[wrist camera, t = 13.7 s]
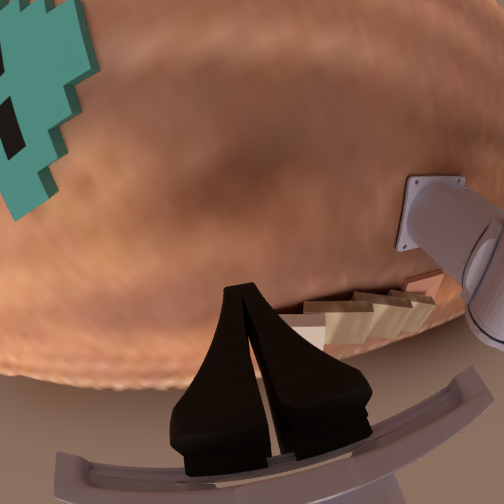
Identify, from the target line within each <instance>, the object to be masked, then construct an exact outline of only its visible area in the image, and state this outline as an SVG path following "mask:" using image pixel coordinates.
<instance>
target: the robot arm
mask: <svg viewBox="0 0 504 504" xmlns="http://www.w3.org/2000/svg"><path fill="white" fill-rule="evenodd" d="M415 181H416V182H415ZM465 182H466V179H465V177H463V176H410V177H409V178H408V180H407V187H406V194H405V201H404V207H403V213H402V219H401V224H400V230H399V235H398V239H397V244H396V250H397V251H399V252H401V251H405V250H410V249H414V248H418V247H420V248H421V249H422V250H423V251H424V252H425V253H426V254H428V255H429V256H430V257H431V258H432V259H433V260H434V261H435V262H436V263H437V264H438V265H439V266H441V267H442V268H443V269H444V270H445V271H446V272H447V273H448V274H449V275H450V276H451V277H452V278H453V279H454V280H455V281H456V282H457V283H458V284H459V285H460V286H461V287H462V288H463V289H462V292H461V294H460V296H461V297H462V299H463V300H464V301H465V302H466V306H465V316H466V319H467V322H468V324H469V326H470V328H471V330H472V331H473V333H474V334H475V335H476V337H478V338H479V339H480V340H481V341H482V342H483V343H485V344H487V345H489V346H492V347H495V348H497V349H499V350H501V351H503V352H504V211H503V210H502V209H501V208H500V207H499V206H497V205H496V204H494V203H492V202H491V201H489V200H488V199H486V198H484V197H483V196H481V195H479V194H478V193H476V192H474V191H472V190H471V189H469V188H467V187H465ZM223 291H224V295H223V303H222V309H221V313H220V318H219V322H218V325H217V328H216V331H215V335H214V338H213V340H212V343H211V345H210V348H209V350H208V353H207V355H206V357H205V359H204V361H203V363H202V365H201V367H200V369H199V371H198V373H197V374H196V376H195V378H194V379H193V381H192V383H191V384H190V386H189V387H188V389H187V391H186V392H185V393H184V395H183V396H182V397H181V399H180V400H179V401H178V403H177V404H176V405H175V407H174V408H173V411H172V416H171V421H170V445H171V447H172V448H174V449H175V450H176V451H177V452H179V453H180V454H181V455H183V456H184V465H185V468H147V467H129V466H118V465H109V464H101V463H94V462H89V461H88V460H86V459H84V458H82V457H80V456H77V455H73V454H68V453H63V452H59V451H58V452H57V453H56V465H55V477H54V498H55V499H58V500H61V501H64V502H67V503H70V504H406V501H405V499H404V496H403V494H402V492H401V489H400V487H399V484H398V482H397V479H396V477H395V475H394V472H396V471H398V470H400V469H402V468H404V467H406V466H408V465H409V464H411V463H413V462H415V461H417V460H418V459H420V458H422V457H423V456H425V455H427V454H428V453H430V452H431V451H433V450H434V449H436V448H437V447H439V446H440V445H442V444H443V443H445V442H446V441H448V440H449V439H450V438H452V437H453V436H455V435H456V434H458V433H459V432H460V431H462V430H463V429H464V428H465V427H467V426H468V425H469V424H470V423H471V422H473V421H474V420H475V419H477V418H478V417H479V416H480V415H481V414H482V413H483V412H485V411H486V410H487V409H488V408H489V407H490V406H491V405H492V404H494V403H495V399H494V397H493V396H492V394H491V393H490V391H489V390H488V388H487V386H486V385H485V383H484V382H483V380H482V379H481V377H480V376H479V374H478V373H477V371H476V370H475V369H474V367H473V366H472V365H471V366H470V367H468V368H467V369H465V370H464V371H462V372H461V373H459V374H458V375H457V376H456V377H454V378H453V379H452V380H451V382H450V383H449V385H448V386H447V387H445V388H444V389H442V390H440V391H439V392H437V393H435V394H434V395H432V396H430V397H429V398H427V399H425V400H423V401H421V402H420V403H418V404H416V405H414V406H412V407H410V408H408V409H406V410H404V411H402V412H400V413H399V414H396V415H394V416H392V417H390V418H388V419H386V420H384V421H381V422H379V423H377V424H375V425H373V426H370V424H369V422H368V420H367V416H368V413H367V411H366V409H365V406H366V405H367V403H368V401H369V400H370V398H371V396H372V389H371V387H370V385H369V383H368V381H367V380H366V379H365V377H364V376H363V374H362V373H361V372H360V371H359V370H358V369H356V368H353V367H351V366H349V365H347V364H345V363H343V362H341V361H339V360H337V359H335V358H333V357H332V356H330V355H328V354H327V353H325V352H323V351H322V350H320V349H319V348H317V347H316V346H314V345H313V344H311V343H310V342H308V341H307V340H306V339H305V338H303V337H302V336H301V335H299V334H298V333H297V332H296V331H295V330H294V329H292V328H291V327H290V326H289V325H288V324H287V323H286V322H285V321H284V320H283V319H282V318H281V317H280V316H279V315H278V314H277V313H276V312H275V310H274V309H273V308H272V307H271V306H270V305H269V303H268V302H267V301H266V300H265V298H264V297H263V296H262V294H261V293H260V291H259V290H258V288H257V287H256V285H255V284H254V283H253V282H251V283H245V284H240V285H234V286H229V287H225V288H224V289H223ZM248 337H249V340H250V343H251V346H252V349H253V352H254V355H255V358H256V360H257V363H258V366H259V369H260V372H261V375H262V378H263V382H264V386H265V390H266V394H267V398H268V402H269V407H270V411H271V415H272V419H273V423H274V427H275V432H276V436H277V440H278V444H279V448H280V452H281V455H278V456H274V457H272V453H271V442H270V435H269V427H268V422H267V418H266V414H265V410H264V406H263V403H262V399H261V396H260V392H259V388H258V384H257V381H256V376H255V372H254V368H253V364H252V360H251V356H250V348H249V340H248ZM354 450H355V451H354ZM352 451H353V452H352ZM349 452H352V456H351V457H350V458H345V459H341V460H338V461H335V462H331V463H328V464H325V465H322V466H319V467H316V468H312V469H309V470H305V471H301V472H297V473H293V474H289V475H285V476H280V477H275V478H270V479H265V480H260V481H255V482H250V483H246V484H242V485H236V486H230V487H223V488H217V487H216V485H214V484H204V483H216V482H217V483H218V482H227V481H236V480H243V479H250V478H256V477H262V476H267V475H272V474H277V473H282V472H286V471H290V470H294V469H298V468H302V467H306V466H309V465H313V464H316V463H320V462H323V461H326V460H329V459H332V458H335V457H338V456H341V455H344V454H346V453H349Z"/></svg>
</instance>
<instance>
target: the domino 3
mask: <svg viewBox="0 0 504 504" xmlns="http://www.w3.org/2000/svg"><path fill="white" fill-rule="evenodd" d="M444 274H445V273H444V272H443V271H442V270H437V271H433V272H430V273H426V274H422V275H418V276H414V277H410V278H406V279H404V281H403V284H402V287H401V290H400V291H402V292H408V293H414V294H419V295H425V296H430V297H432V298H433V300H434V298H435V295H436V293H437V291H438V289H439V286H440V284H441V281H442V279H443V277H444Z"/></svg>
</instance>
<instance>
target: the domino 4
mask: <svg viewBox="0 0 504 504" xmlns="http://www.w3.org/2000/svg"><path fill="white" fill-rule="evenodd" d="M387 296H392V297H400V298H408V299H410V301H411V303H412V306H413V310H412V312H411V313H410V315H409V317H408V319H407V321H406V322H405V324H404V326H403V327H402V329H401V331H404V332H417V331H418V329H419V328H420V327H421V325H422V324H423V323H424V321H425V320H426V319H427V317H428V316H429V315H430V313H431V312H432V311H433V309H434V308H435V306H436V304H435V302H434V300H433V298H432V297H430V296H425V295H419V294H414V293H408V292H402V291H397V290H391V289H390V291H389V292H388V294H387Z"/></svg>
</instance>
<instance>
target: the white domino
mask: <svg viewBox="0 0 504 504" xmlns="http://www.w3.org/2000/svg"><path fill="white" fill-rule="evenodd" d="M278 315H279V316H280V317H281V318H282V319H283V320H284V321H285V322H286V323H287V324H288V325H289V326H290V327H291V328H292V329H294V330H295V331H296V332H297V333H298V334H299V335H301V336H302V337H303V338H305V339H306V340H307V341H308V342H310V343H311V344H313V345H314V346H316V347H317V348H319V349H320V350H322V351H323V346H324V338H325V330H326V320H325V314H278Z"/></svg>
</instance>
